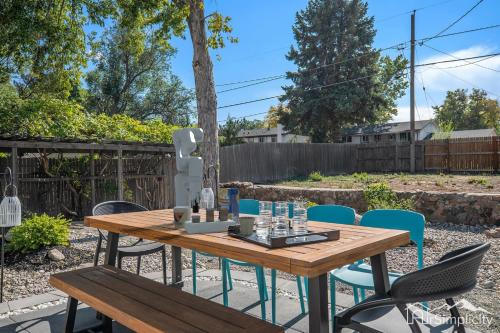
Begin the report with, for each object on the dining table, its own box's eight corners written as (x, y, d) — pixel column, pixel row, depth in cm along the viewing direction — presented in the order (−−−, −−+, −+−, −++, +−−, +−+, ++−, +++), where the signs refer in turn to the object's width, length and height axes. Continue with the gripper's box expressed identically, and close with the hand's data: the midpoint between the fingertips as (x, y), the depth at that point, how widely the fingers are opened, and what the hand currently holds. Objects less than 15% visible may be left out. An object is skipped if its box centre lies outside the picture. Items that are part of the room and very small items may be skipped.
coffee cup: (169, 227, 226) (169, 207, 226) (179, 225, 234) (179, 206, 234) (182, 229, 221) (182, 208, 221) (192, 226, 230) (192, 206, 230)
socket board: (184, 230, 215) (184, 221, 215) (228, 227, 225) (228, 219, 225) (189, 233, 204) (189, 224, 204) (235, 230, 214) (235, 221, 214)
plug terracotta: (219, 221, 219) (219, 207, 219) (225, 220, 220) (225, 206, 220) (221, 222, 215) (221, 207, 215) (228, 221, 217) (228, 207, 217)
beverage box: (226, 222, 246) (225, 188, 246) (239, 224, 239) (238, 188, 240) (218, 224, 241) (218, 188, 241) (231, 225, 234) (231, 189, 234)
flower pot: (258, 233, 204) (258, 216, 204) (252, 236, 195) (252, 219, 196) (241, 232, 208) (241, 216, 208) (235, 235, 199) (235, 218, 199)
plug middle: (205, 222, 216) (205, 207, 216) (212, 221, 217) (212, 207, 217) (207, 223, 212) (207, 208, 212) (214, 222, 214) (214, 208, 214)
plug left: (191, 230, 213) (191, 215, 213) (198, 229, 214) (198, 215, 214) (193, 231, 209) (193, 216, 209) (200, 230, 211) (200, 215, 211)
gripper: (185, 178, 218) (185, 211, 218) (192, 180, 204) (192, 214, 204) (198, 178, 220) (198, 210, 221) (206, 179, 207) (206, 214, 207)
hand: (195, 212), depth 212 cm, fingers closed
